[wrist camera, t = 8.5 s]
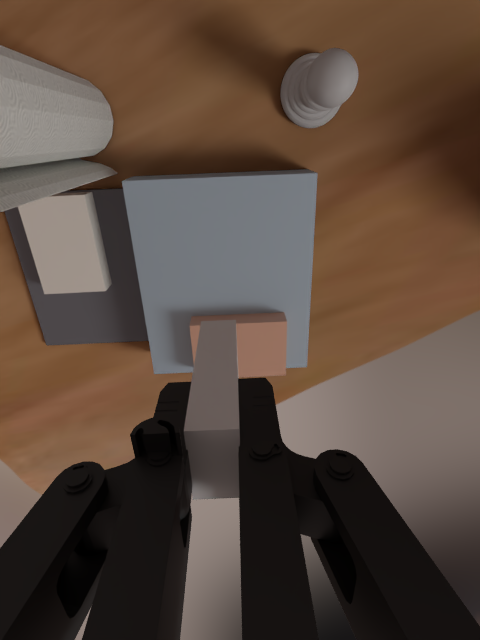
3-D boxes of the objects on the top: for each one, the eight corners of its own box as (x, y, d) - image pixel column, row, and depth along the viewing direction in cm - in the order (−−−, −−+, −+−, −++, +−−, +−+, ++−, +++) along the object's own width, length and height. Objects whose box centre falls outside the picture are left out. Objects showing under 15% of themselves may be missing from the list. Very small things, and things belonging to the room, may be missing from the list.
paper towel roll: (36, 72, 30) (-308, -43, 11) (112, 79, 30) (-90, -20, 11) (49, 168, 33) (-197, 211, 14) (118, 173, 33) (-30, 222, 14)
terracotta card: (284, 312, 36) (287, 321, 34) (283, 364, 38) (285, 375, 37) (191, 316, 36) (189, 325, 34) (196, 367, 38) (195, 379, 36)
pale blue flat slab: (307, 169, 34) (317, 173, 30) (300, 347, 42) (306, 367, 39) (133, 176, 34) (121, 181, 30) (160, 353, 42) (154, 373, 38)
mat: (131, 188, 34) (130, 188, 34) (155, 338, 41) (154, 340, 41) (1, 193, 34) (-1, 193, 33) (48, 343, 41) (46, 345, 41)
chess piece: (266, 97, 31) (280, 83, 23) (310, 37, 29) (342, -1, 21) (311, 142, 33) (338, 143, 25) (355, 87, 31) (400, 70, 23)
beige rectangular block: (15, 198, 32) (26, 194, 34) (44, 294, 36) (53, 286, 38) (84, 194, 32) (92, 191, 34) (105, 291, 36) (111, 283, 38)
